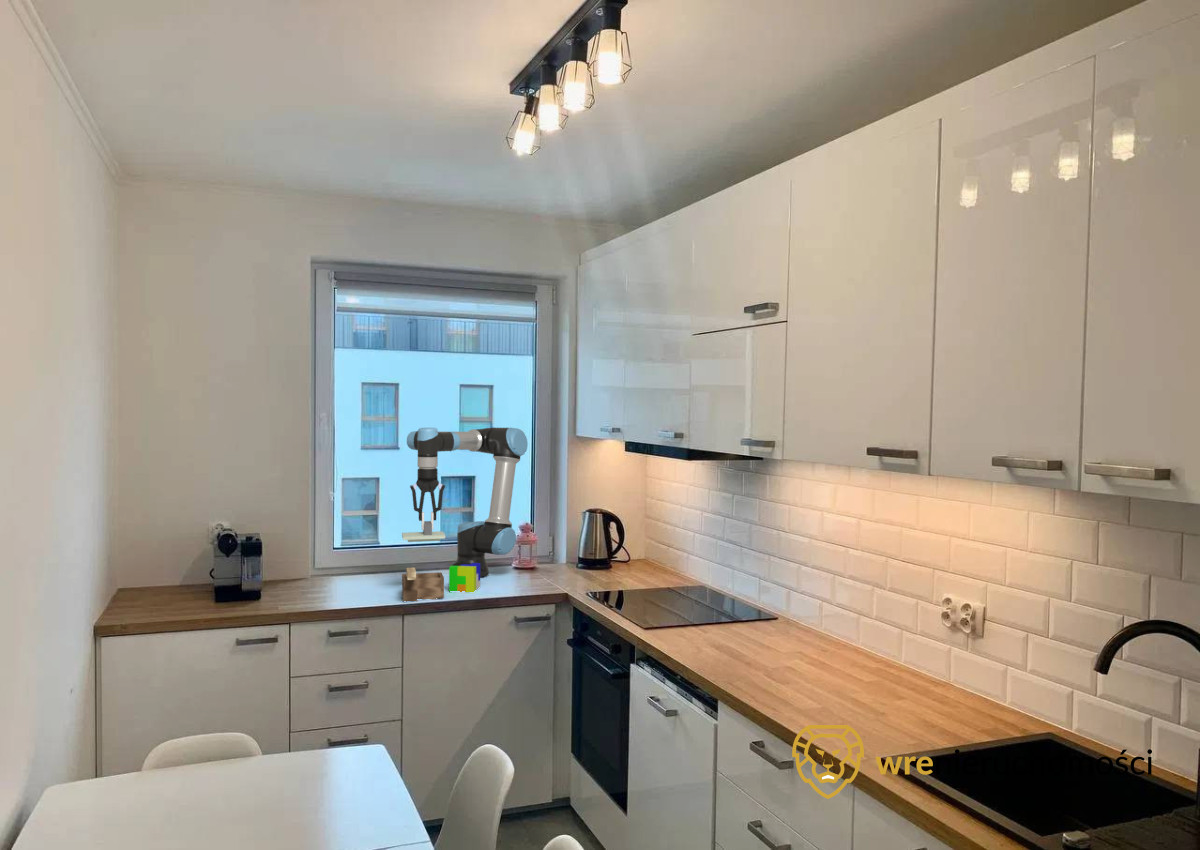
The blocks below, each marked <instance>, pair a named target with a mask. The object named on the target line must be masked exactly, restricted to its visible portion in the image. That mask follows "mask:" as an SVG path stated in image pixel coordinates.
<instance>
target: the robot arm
mask: <svg viewBox="0 0 1200 850" xmlns="http://www.w3.org/2000/svg"><path fill="white" fill-rule="evenodd" d="M528 444H529V443H528V438H527V435H526V434H525V432H524V431H523V430H522V429H520V428H517V427H516V428H515V427H486V428H476V429H474V428H472V429H469V430H468V431H438V428H437V427H420V428H418V430H416V431H414V430H413V431H411V432H409V433H408V435H407V437H406V445H407V447H408V448H409V449H411V450H413V451H414V450H415V451H417V468H418V469H417V480H416V483H414V484H411V485H410V486H409V488H410V491H411V495H412V503H413V504H412V505H413V511H414V512H417V513H418V521H419V522H421V531H423V530H424V521H425V512H424V511H423V508H424V502H425V501H424V500H425V495H426V493H430V498H431V499H430V501H431V507H432V511H431V512H430V521H431V523H432V531H433V530H434V521H437V512H439V511H441V510H442V506H443V495H444V490H445V489H446V485H445V484H442V483H440V482H439V480H438V473H439V472H438V468H437V467H438V459H439V458H438V456H439V455H438V453H439V452H452V451H453V452H454V451H457V450H468V451H470V452H476V453H477V452H478V453H484V454H489V455H492V458H493V459H494V460H495V466H494V467H495V469H494V473H493V474H494V475H493V480H492V481H493V483H492V489H491V490H492V491H491V498H490V504H489V505H490V506H489V513H488V514H489V515H488V518H486V519H485V520H484V521H471V522H470V521H469V522H462V523H460V524H458V526H457V533H456V534H457V537H456V538H457V539H456V540H457V542H456V543H457V547H456V549H457V557H456V561H455V563H480V577H481V578H483V577H482V576H486V577H488V576H489V575H488V574H489V573H490V572H489V566H488V564H487V561H486V558H485V556H486V554H490V555H495V556H500V555H501V556H505V555H508V554H509V553H510V552H511V551H512V550H513V549H514V548H515V544H516V542H517V534H516V531H515V530H514V529H513V524H512V522H511V521H510V516H511V515H510V514H511V506H512V499H513V498H512V497H513V490H514V483H515V482H514V481H515V474H516V466H517V464H518V463H519V462H520V461H521V456H523V455H525V453H526V452H527V450H528ZM437 487H438V490H439V492H438V500H437V505H436V499H435V490H436V489H437ZM417 488H418V489H419V490H420V497H419V498H420V499H419V505H418V501H417V492H416V490H417ZM418 506H419V507H418ZM487 575H488V576H487Z"/></svg>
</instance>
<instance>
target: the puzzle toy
mask: <svg viewBox="0 0 1200 850" xmlns="http://www.w3.org/2000/svg"><path fill="white" fill-rule="evenodd" d="M448 569H449V570H448V576H449V577H448V582H449V583H448V592H449V591H460V592H462V591H465V592H474V591H475V590H477V589H478V588H479V587H480V588H481V578H480V563H456V562H455V563H453V564H452V565H450V566H449V568H448ZM480 588H479V589H480ZM479 589H478V590H479ZM478 590H477V591H478Z"/></svg>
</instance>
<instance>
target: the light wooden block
mask: <svg viewBox="0 0 1200 850" xmlns="http://www.w3.org/2000/svg"><path fill="white" fill-rule="evenodd" d="M405 569H406V573H405V574H406V576H407V580H416V573H417V570H416V567H406V568H405Z"/></svg>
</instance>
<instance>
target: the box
mask: <svg viewBox="0 0 1200 850" xmlns="http://www.w3.org/2000/svg"><path fill="white" fill-rule="evenodd" d="M401 596H403V597H402V601H403V602H404V601H417V602H418V600H417V599H431V600H439V599H438V598H444V599H445V576H444V574H443V572H420V573H419V572H418V573H417V572H416V580H407V576H406V573H401ZM436 598H437V599H436Z"/></svg>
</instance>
